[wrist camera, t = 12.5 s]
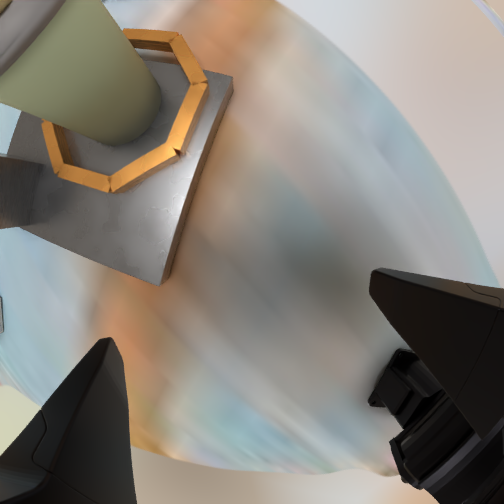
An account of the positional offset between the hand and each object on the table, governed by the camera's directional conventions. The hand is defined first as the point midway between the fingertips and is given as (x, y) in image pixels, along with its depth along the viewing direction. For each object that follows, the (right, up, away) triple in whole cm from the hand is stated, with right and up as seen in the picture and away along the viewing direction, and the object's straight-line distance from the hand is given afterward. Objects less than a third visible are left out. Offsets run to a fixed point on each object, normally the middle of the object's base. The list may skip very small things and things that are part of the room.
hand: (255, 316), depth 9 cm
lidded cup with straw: (-9, +12, +8) cm, 17 cm away
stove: (-12, +10, +10) cm, 19 cm away
